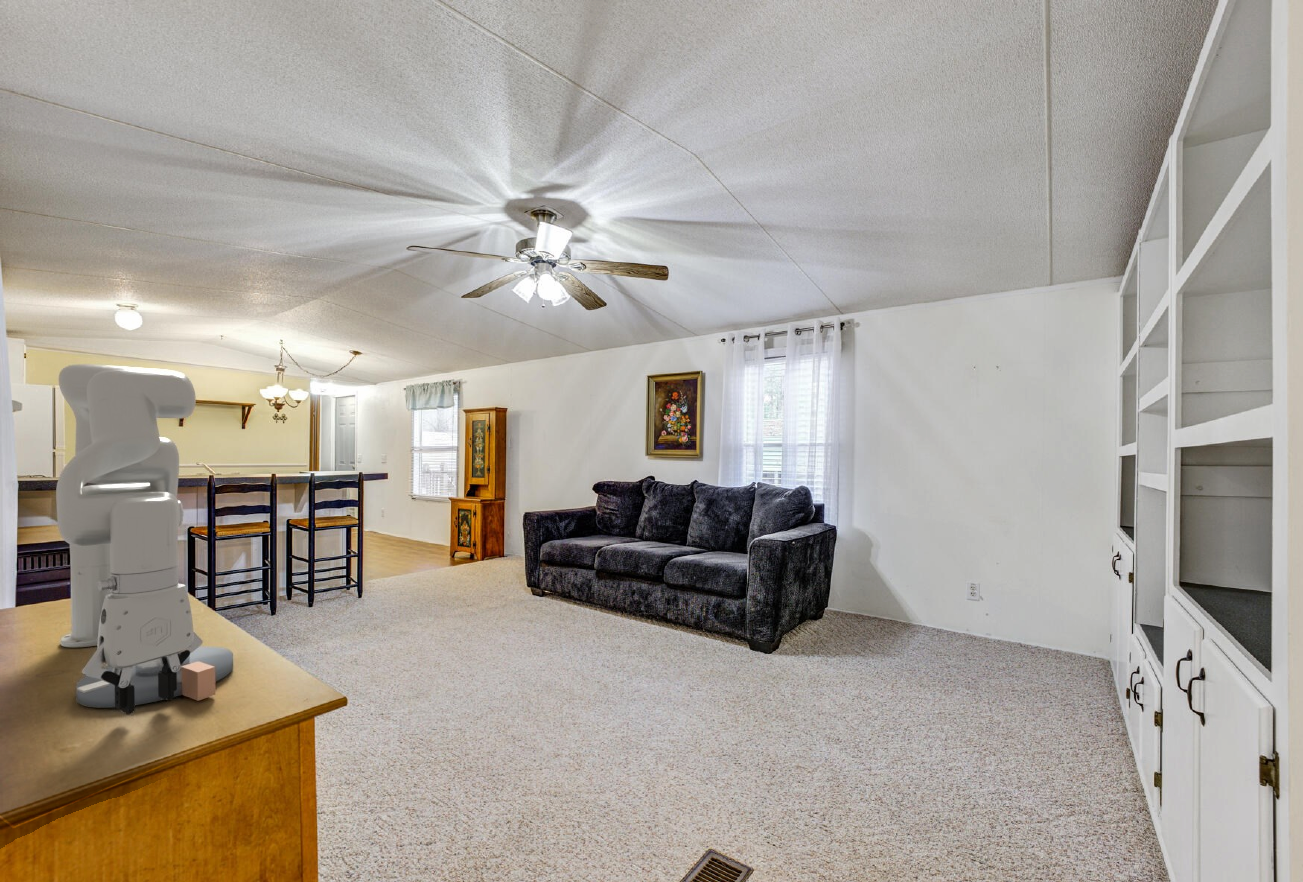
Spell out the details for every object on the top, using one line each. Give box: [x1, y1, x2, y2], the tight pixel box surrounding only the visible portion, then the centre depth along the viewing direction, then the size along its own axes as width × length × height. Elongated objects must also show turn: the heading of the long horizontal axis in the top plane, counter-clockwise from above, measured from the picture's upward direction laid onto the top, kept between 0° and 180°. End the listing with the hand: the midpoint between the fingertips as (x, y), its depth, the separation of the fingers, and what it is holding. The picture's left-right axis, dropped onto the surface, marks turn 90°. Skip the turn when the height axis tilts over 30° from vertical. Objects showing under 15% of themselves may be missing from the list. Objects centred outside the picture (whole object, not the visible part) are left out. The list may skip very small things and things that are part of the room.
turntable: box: [75, 646, 234, 709], centre depth 97 cm, size 25×20×4 cm
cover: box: [135, 655, 190, 677], centre depth 98 cm, size 7×7×4 cm
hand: (146, 703), depth 86 cm, fingers open, 4 cm apart
